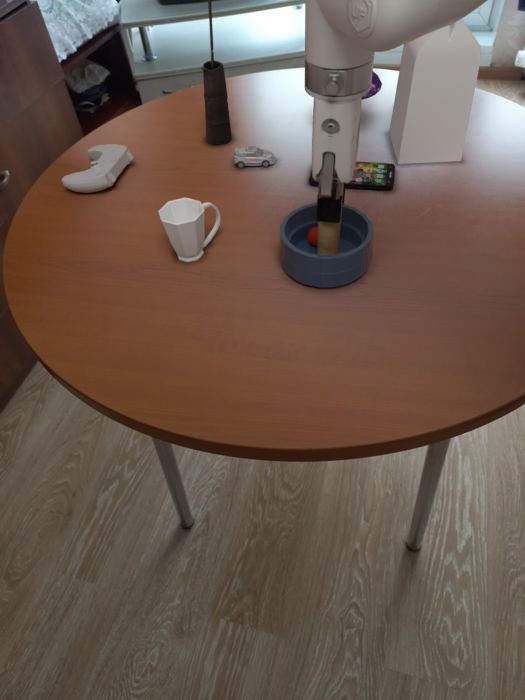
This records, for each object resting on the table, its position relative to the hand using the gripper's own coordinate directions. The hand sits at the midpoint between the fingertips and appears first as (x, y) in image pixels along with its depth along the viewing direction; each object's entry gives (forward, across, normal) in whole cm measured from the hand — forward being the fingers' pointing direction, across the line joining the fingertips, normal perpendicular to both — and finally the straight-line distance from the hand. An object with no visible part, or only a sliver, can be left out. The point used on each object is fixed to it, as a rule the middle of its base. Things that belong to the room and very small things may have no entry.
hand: (330, 211), depth 71 cm
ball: (+7, +4, +2) cm, 9 cm away
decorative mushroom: (+10, +42, +2) cm, 44 cm away
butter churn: (+10, +35, +28) cm, 46 cm away
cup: (+10, 0, +21) cm, 23 cm away
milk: (+10, +37, -13) cm, 41 cm away
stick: (+8, 0, 0) cm, 8 cm away
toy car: (+10, +28, +18) cm, 34 cm away
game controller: (+10, +19, +46) cm, 51 cm away
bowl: (+10, +1, 0) cm, 10 cm away
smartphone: (+10, +24, -1) cm, 26 cm away
